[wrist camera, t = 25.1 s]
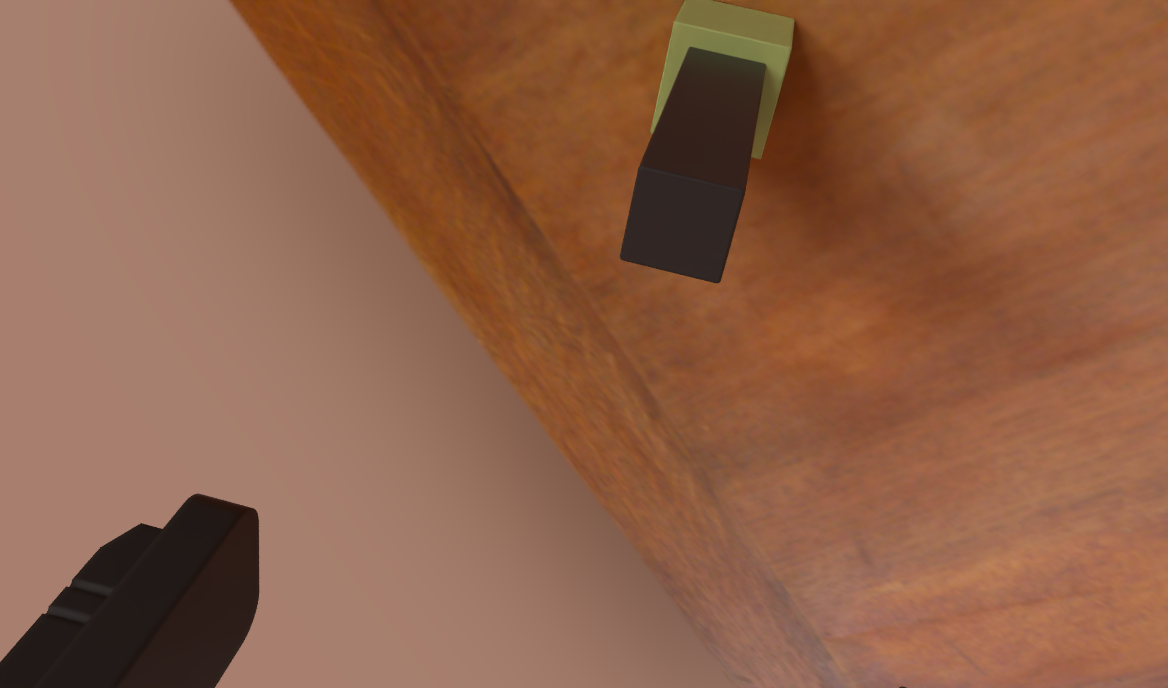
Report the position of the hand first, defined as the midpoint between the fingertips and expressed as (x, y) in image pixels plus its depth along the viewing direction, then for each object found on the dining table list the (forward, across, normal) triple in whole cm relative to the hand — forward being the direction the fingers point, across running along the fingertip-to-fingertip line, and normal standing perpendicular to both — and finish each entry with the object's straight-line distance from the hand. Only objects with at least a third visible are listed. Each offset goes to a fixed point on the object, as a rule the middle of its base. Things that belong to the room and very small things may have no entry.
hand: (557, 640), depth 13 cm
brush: (+26, 0, 0) cm, 26 cm away
